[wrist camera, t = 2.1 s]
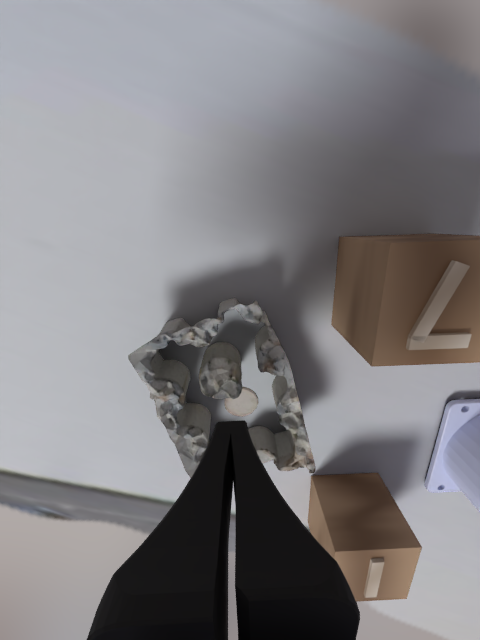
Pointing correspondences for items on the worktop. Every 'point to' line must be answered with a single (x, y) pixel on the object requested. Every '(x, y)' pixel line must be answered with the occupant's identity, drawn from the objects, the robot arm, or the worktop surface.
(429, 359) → the numbered block seven
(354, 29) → the worktop surface
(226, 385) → the egg carton
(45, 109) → the worktop surface
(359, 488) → the numbered block one
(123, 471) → the worktop surface
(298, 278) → the worktop surface
